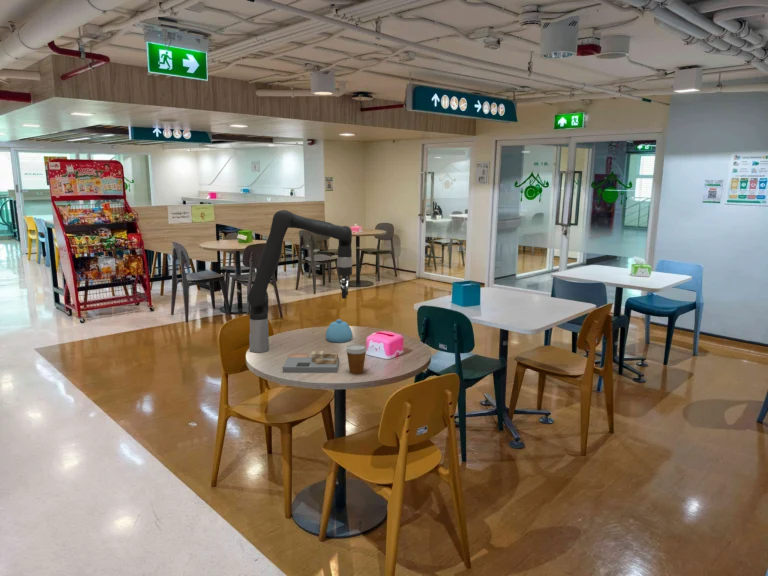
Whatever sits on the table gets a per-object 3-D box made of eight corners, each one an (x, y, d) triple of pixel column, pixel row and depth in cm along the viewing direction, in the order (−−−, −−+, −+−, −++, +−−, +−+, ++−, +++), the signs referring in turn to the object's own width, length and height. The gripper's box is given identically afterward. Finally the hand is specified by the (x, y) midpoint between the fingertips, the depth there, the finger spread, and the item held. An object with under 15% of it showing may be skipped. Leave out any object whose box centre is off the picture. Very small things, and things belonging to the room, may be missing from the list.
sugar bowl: (324, 343, 308) (323, 322, 306) (327, 336, 323) (327, 316, 321) (351, 343, 308) (351, 323, 306) (353, 336, 322) (353, 316, 320)
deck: (282, 372, 260) (282, 367, 260) (288, 362, 275) (287, 357, 274) (336, 372, 260) (336, 367, 260) (339, 362, 275) (339, 357, 275)
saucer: (286, 360, 277) (286, 358, 277) (289, 354, 287) (289, 352, 286) (307, 361, 277) (306, 358, 277) (309, 355, 287) (309, 352, 287)
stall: (315, 364, 264) (315, 360, 264) (317, 357, 275) (317, 353, 274) (336, 364, 264) (336, 360, 264) (338, 357, 275) (338, 353, 274)
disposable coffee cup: (347, 368, 266) (347, 343, 264) (367, 369, 266) (367, 344, 263) (344, 374, 257) (344, 349, 255) (365, 375, 256) (365, 350, 254)
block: (311, 362, 267) (311, 354, 266) (312, 359, 272) (312, 351, 271) (322, 362, 267) (322, 354, 266) (323, 359, 272) (323, 351, 271)
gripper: (338, 263, 293) (339, 294, 296) (335, 267, 279) (336, 299, 282) (353, 263, 293) (353, 294, 296) (350, 267, 279) (351, 299, 282)
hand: (344, 296), depth 289 cm, fingers open, 8 cm apart
